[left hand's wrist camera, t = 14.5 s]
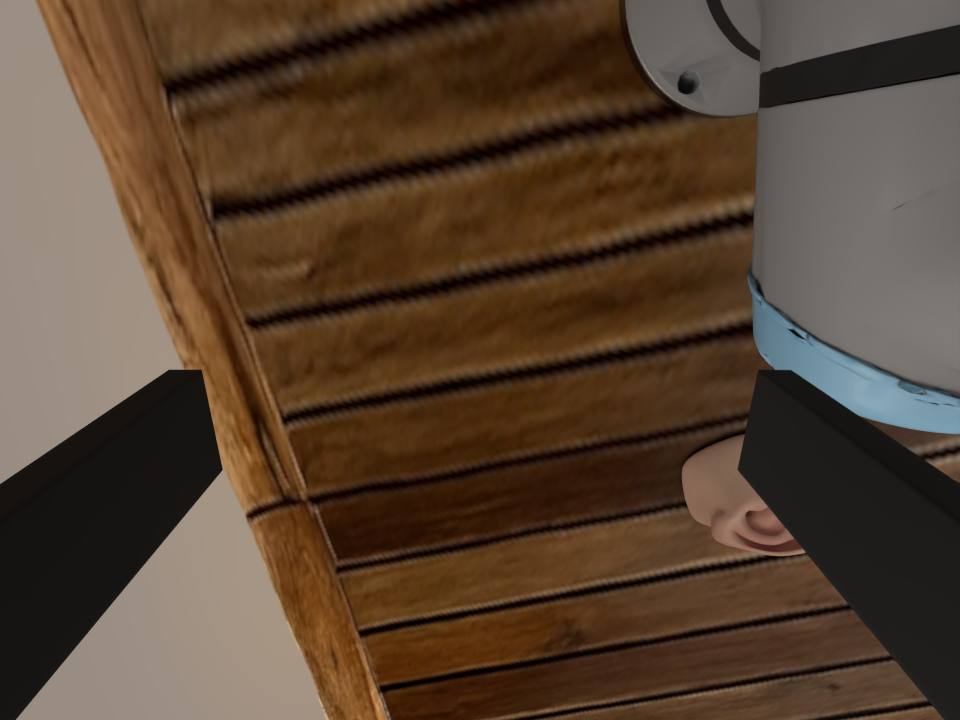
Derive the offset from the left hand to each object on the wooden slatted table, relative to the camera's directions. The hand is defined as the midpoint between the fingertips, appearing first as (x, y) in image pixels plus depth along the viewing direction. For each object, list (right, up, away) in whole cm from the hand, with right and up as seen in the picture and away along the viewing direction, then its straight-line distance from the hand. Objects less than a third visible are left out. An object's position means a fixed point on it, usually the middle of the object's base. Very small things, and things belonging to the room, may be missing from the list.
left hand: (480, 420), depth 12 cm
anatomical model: (+25, -10, +35) cm, 44 cm away
